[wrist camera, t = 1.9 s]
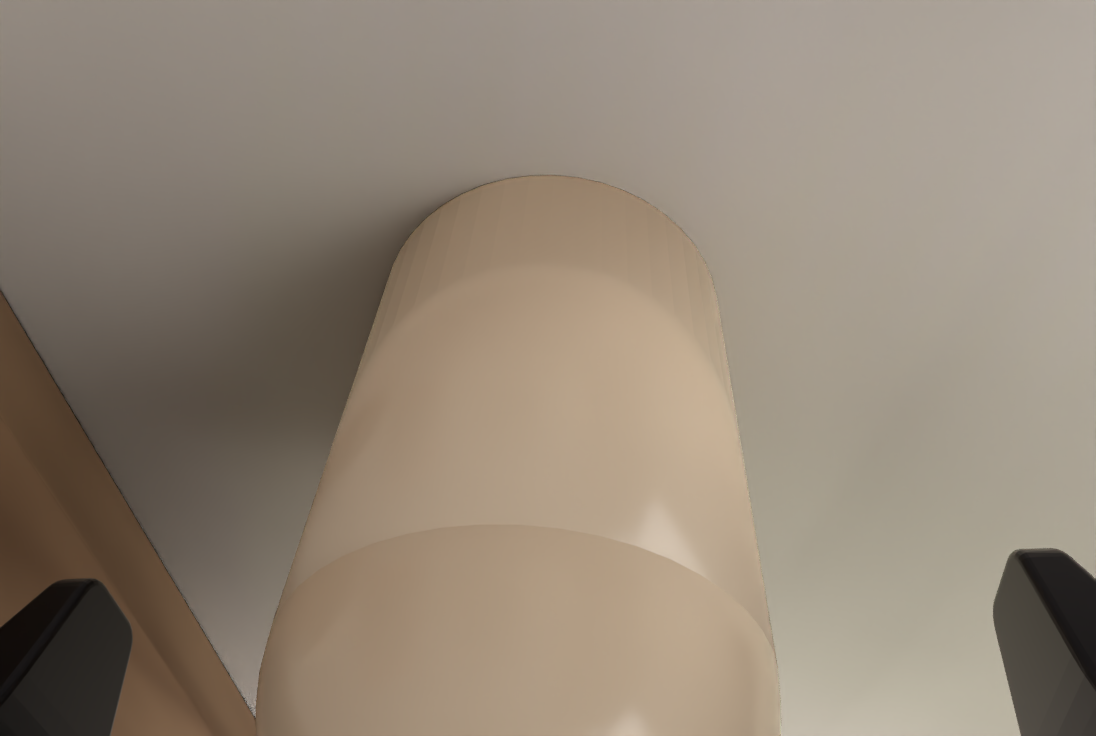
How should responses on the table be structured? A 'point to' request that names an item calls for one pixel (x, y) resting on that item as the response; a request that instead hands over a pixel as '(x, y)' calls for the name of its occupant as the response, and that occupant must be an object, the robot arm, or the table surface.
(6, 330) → the crate
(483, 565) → the cylinder
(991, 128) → the table surface
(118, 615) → the robot arm
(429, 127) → the table surface
